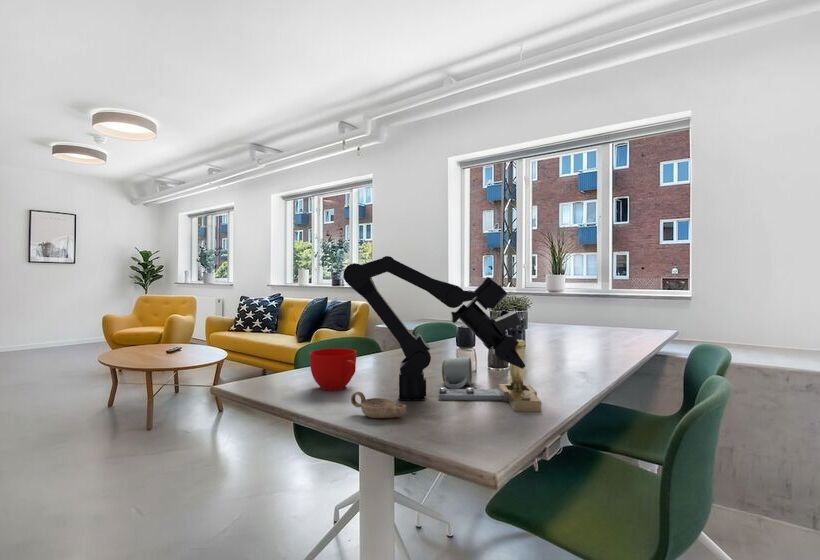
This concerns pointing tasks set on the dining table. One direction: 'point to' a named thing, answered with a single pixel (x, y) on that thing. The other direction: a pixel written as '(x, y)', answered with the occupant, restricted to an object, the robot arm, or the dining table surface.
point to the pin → (517, 369)
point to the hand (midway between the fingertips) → (522, 365)
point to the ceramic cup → (333, 367)
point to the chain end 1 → (471, 394)
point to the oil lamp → (378, 407)
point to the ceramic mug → (457, 372)
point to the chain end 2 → (521, 398)
